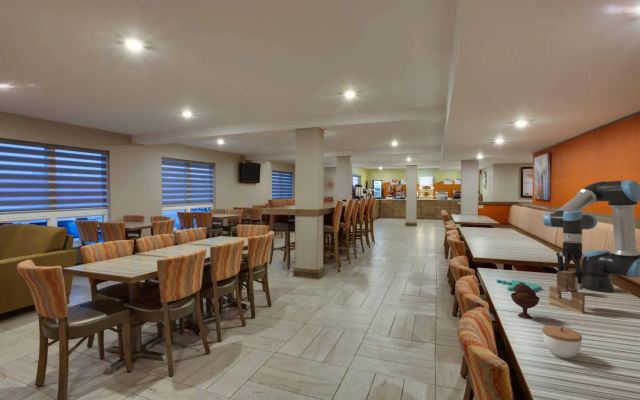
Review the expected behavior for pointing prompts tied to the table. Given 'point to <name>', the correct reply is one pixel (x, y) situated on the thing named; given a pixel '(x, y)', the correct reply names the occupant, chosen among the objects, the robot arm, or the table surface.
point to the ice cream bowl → (524, 299)
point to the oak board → (574, 304)
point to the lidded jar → (562, 341)
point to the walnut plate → (567, 280)
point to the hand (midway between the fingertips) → (572, 288)
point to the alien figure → (515, 282)
